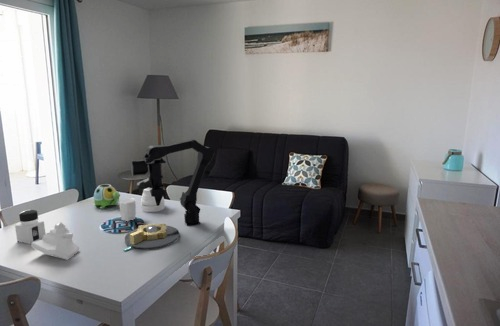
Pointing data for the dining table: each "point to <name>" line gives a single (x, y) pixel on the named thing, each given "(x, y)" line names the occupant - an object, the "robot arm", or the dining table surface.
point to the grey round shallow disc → (153, 244)
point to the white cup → (127, 209)
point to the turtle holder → (106, 196)
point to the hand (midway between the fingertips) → (157, 205)
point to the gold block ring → (143, 235)
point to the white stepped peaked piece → (57, 243)
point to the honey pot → (150, 202)
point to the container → (29, 227)
